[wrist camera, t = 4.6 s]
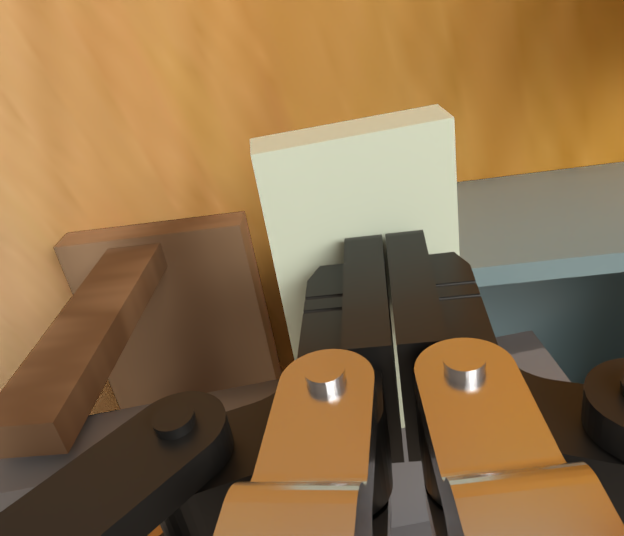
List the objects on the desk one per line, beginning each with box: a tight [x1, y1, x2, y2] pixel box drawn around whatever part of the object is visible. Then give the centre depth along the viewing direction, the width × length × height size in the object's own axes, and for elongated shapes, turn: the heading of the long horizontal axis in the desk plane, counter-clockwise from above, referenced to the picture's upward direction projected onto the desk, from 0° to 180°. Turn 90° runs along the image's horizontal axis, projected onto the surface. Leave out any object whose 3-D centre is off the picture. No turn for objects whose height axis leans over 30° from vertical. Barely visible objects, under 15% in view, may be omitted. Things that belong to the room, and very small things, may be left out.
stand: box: [0, 211, 282, 459], centre depth 20 cm, size 7×10×10 cm
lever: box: [0, 104, 571, 536], centre depth 15 cm, size 17×14×3 cm
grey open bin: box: [457, 162, 624, 384], centre depth 18 cm, size 10×10×12 cm
